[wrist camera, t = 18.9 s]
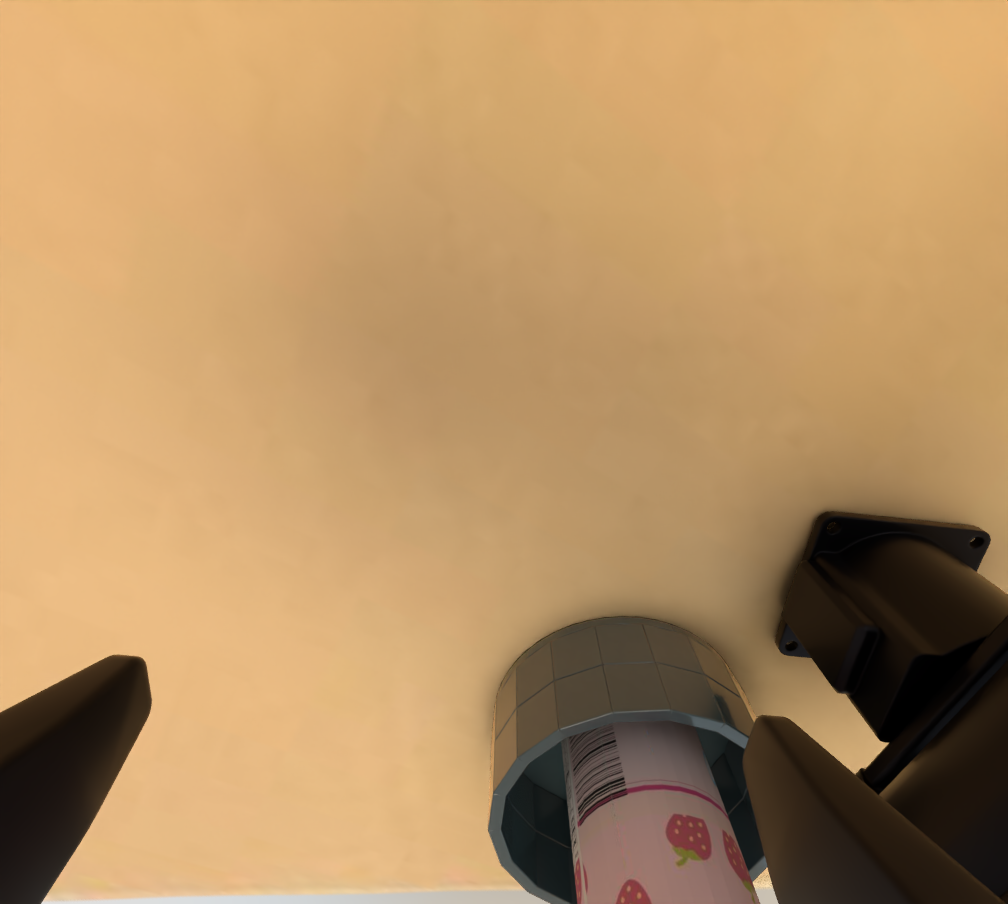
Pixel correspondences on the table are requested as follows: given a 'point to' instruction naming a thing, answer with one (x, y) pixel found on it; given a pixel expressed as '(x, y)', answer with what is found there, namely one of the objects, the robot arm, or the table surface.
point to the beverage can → (649, 819)
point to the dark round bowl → (596, 703)
